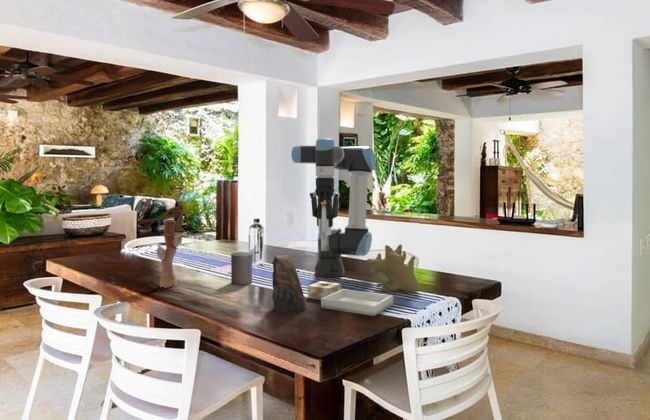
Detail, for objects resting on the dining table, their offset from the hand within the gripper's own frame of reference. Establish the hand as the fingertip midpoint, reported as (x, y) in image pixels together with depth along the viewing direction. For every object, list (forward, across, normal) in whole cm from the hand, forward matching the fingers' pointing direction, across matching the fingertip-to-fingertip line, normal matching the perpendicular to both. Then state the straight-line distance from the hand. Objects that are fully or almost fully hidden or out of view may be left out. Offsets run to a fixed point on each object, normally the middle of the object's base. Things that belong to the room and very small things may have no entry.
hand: (324, 234), depth 198 cm
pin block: (+26, 0, 0) cm, 26 cm away
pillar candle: (+26, -46, +3) cm, 53 cm away
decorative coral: (+26, +19, +28) cm, 43 cm away
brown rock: (+26, -3, -22) cm, 34 cm away
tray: (+26, +18, -6) cm, 32 cm away
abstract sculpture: (+26, -69, -19) cm, 76 cm away
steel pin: (+7, 0, 0) cm, 7 cm away
